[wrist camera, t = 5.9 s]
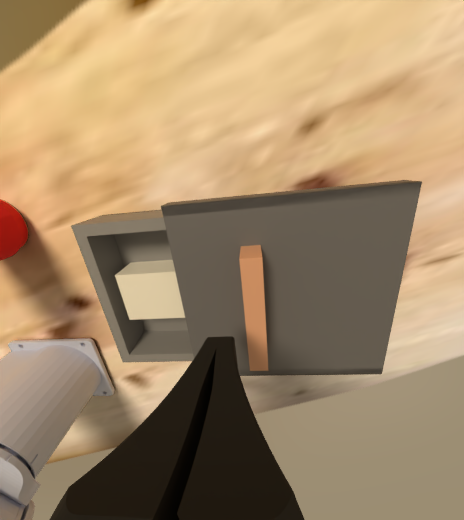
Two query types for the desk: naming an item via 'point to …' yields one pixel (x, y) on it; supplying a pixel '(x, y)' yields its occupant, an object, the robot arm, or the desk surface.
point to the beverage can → (11, 230)
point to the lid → (295, 274)
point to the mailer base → (103, 277)
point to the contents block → (150, 290)
